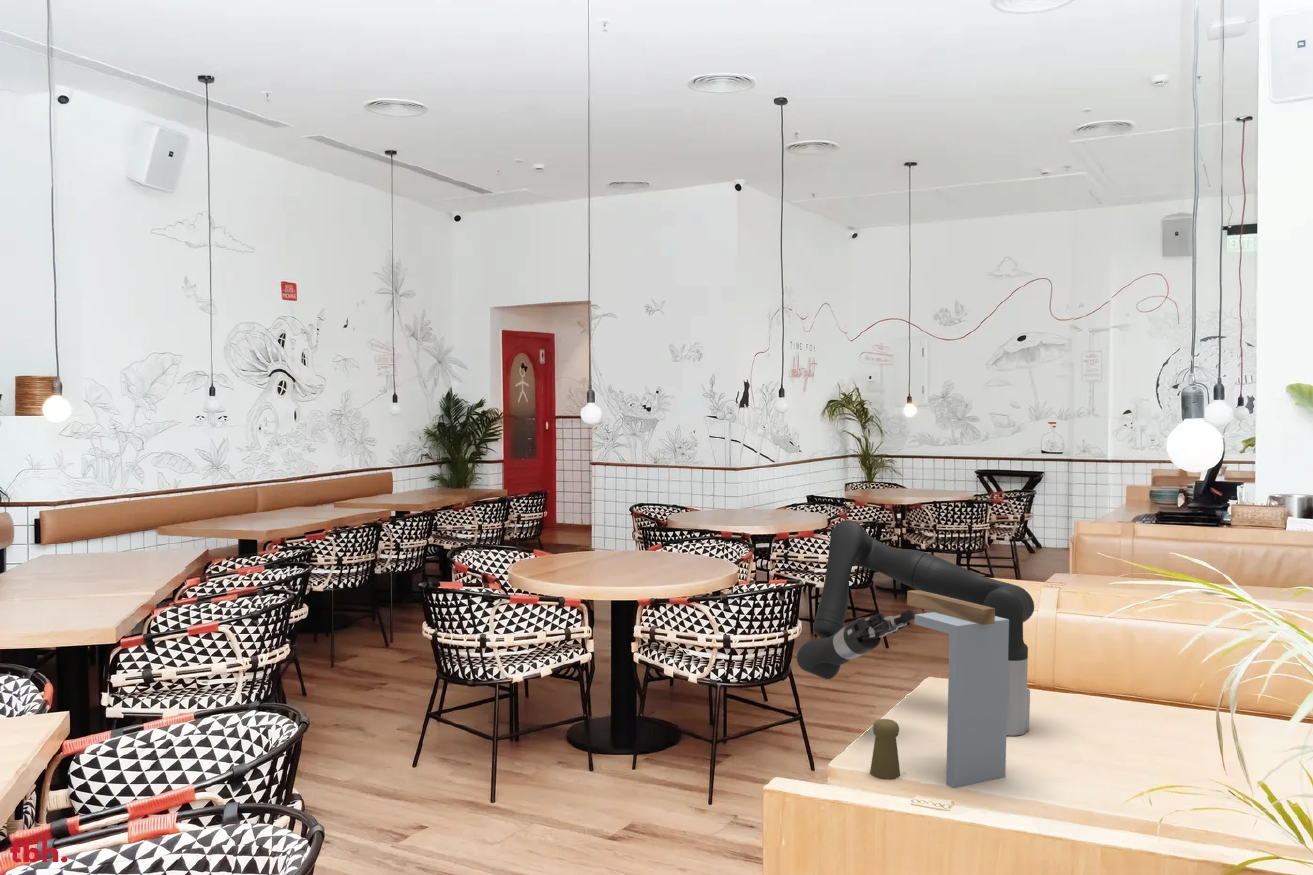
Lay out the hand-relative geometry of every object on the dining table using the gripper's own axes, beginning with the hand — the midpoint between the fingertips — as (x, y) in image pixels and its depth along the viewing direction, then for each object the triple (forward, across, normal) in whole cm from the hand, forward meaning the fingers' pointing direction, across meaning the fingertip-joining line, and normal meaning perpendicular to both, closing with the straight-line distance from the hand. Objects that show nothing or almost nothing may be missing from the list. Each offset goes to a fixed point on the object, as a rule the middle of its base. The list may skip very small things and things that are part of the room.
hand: (897, 615), depth 230 cm
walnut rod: (+15, 0, +5) cm, 16 cm away
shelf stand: (+2, 0, +34) cm, 35 cm away
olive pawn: (-3, -14, +32) cm, 35 cm away
